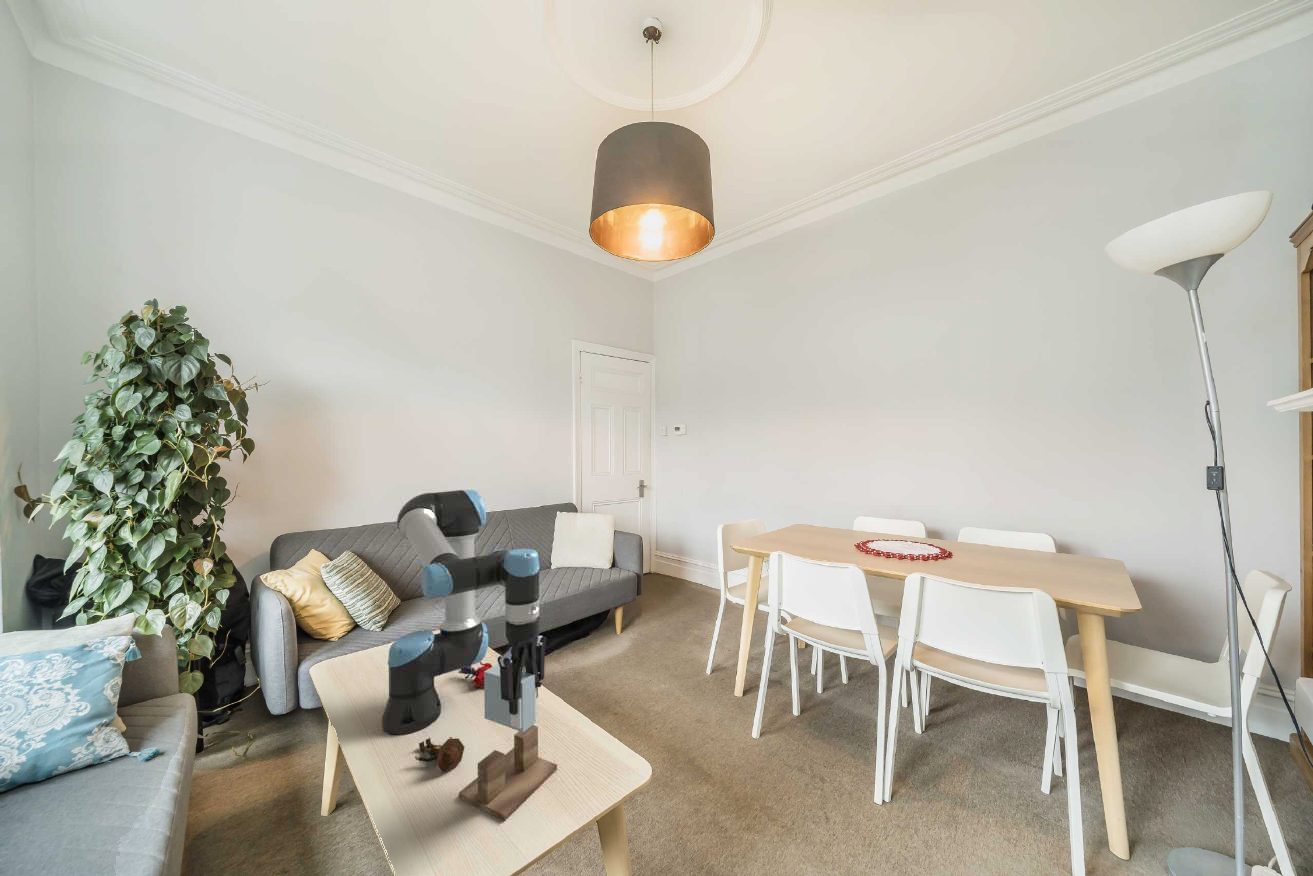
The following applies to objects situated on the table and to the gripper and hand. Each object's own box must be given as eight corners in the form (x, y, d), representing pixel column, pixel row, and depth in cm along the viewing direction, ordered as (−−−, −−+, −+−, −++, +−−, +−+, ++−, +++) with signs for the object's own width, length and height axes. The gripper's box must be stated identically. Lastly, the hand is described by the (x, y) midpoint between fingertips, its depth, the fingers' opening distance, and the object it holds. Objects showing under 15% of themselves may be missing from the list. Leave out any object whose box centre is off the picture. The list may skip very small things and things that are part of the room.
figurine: (466, 670, 161) (502, 678, 156) (448, 687, 153) (484, 696, 148) (463, 653, 160) (499, 661, 154) (445, 670, 152) (481, 679, 147)
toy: (440, 722, 126) (470, 730, 117) (444, 751, 125) (474, 761, 116) (404, 741, 118) (433, 751, 109) (407, 772, 117) (437, 784, 108)
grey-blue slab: (484, 718, 110) (484, 671, 110) (497, 709, 113) (497, 664, 113) (523, 732, 104) (522, 683, 104) (535, 722, 108) (534, 675, 108)
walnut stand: (458, 798, 105) (458, 757, 105) (514, 752, 120) (513, 716, 120) (504, 821, 98) (504, 777, 98) (557, 769, 113) (556, 731, 113)
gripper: (507, 635, 97) (508, 747, 97) (559, 608, 112) (561, 705, 112) (481, 629, 101) (482, 737, 101) (535, 604, 116) (537, 698, 116)
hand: (524, 720), depth 107 cm, fingers closed on grey-blue slab, 4 cm apart
